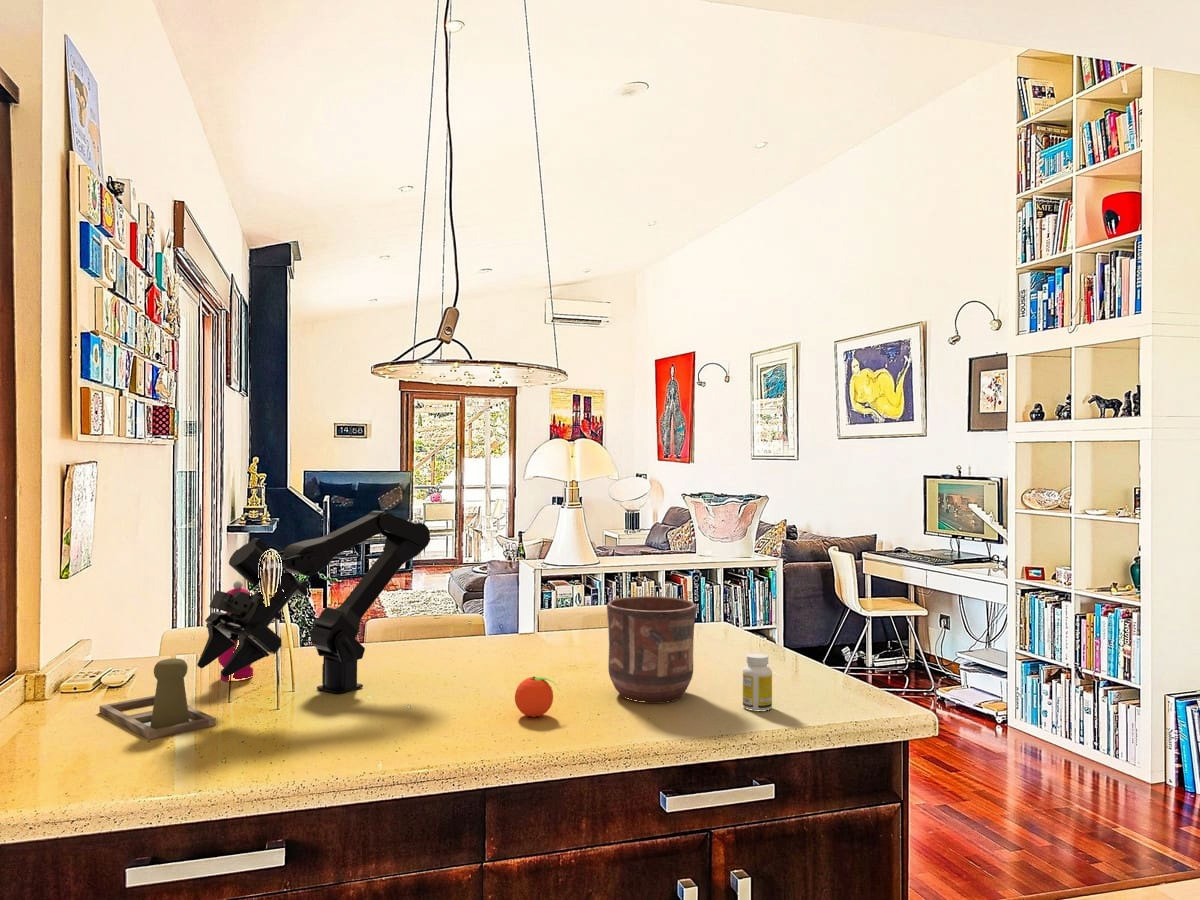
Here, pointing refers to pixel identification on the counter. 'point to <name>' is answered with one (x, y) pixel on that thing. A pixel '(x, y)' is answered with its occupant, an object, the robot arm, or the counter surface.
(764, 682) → the supplement bottle
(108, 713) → the brown wooden frame
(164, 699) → the cork
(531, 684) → the clementine
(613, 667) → the pottery
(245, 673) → the pepper mill
